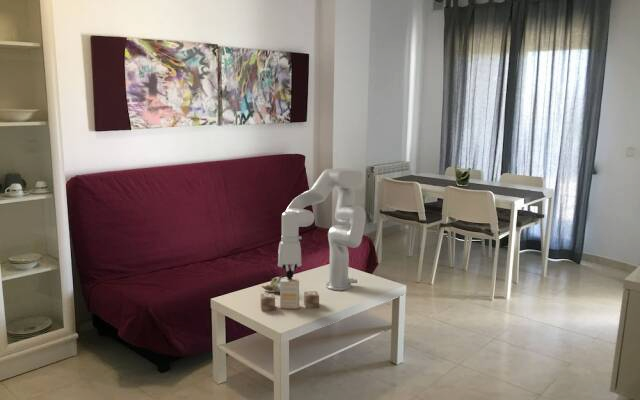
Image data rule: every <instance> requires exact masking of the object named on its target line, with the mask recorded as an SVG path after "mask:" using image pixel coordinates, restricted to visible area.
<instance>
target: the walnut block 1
mask: <svg viewBox="0 0 640 400" xmlns="http://www.w3.org/2000/svg"><path fill="white" fill-rule="evenodd" d="M260 310H261V312H271V311H273V312H274V311H276V297H275V294H274V292H273V293H270V292H269V293H260Z"/></svg>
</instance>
